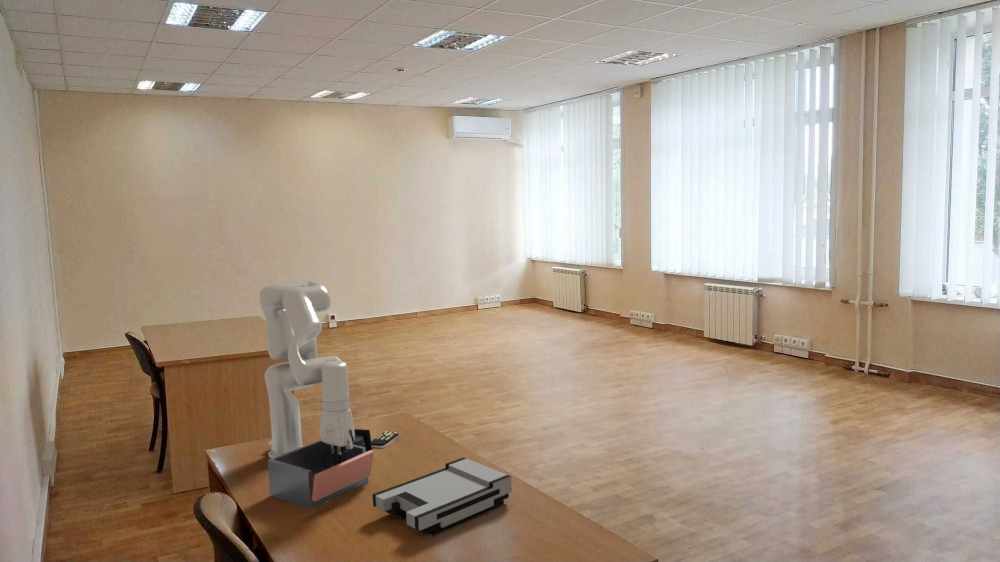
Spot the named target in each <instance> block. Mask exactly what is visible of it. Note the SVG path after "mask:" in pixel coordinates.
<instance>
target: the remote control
mask: <svg viewBox="0 0 1000 562" xmlns="http://www.w3.org/2000/svg"><path fill="white" fill-rule="evenodd" d="M399 437H400V434H399V433H398V432H397V431H396V432H395V431H387V430H386V431H384V432H382V433H381V434H379V435H378V436H376V437H375V438H374V439H371V444H372V448H373V447H375V449H383V448H384V447H385V448H386V447H388V446H387V445H391V444H392V443H393V442H394V441H396V440H397V439H398V438H399ZM385 448H384V449H385Z"/></svg>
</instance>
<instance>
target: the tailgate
mask: <svg viewBox="0 0 1000 562" xmlns="http://www.w3.org/2000/svg"><path fill="white" fill-rule="evenodd" d="M374 454H375V451H374V450H373V449H372V450H370V451H367V452H365V453H363V454H361V455H358V456H356V457H354V458H352V459H349V460H347V461H345V462H342V463H340V464H338V465H336V466H333V467H331V468H329V469H326V470H324V471H322V472H320V473H317V474H315V478H314V487H313V495H312V500H313V501H317V500H319V499H321V498H324V497H326V496H328V495H330V494H332V493H334V492H336V491H338V490H340V489H342V488H344V487H347V486H349V485H351V484H353V483H355V482H357V481H359V480H361V479H363V478H365V477H368V478H369V476H371V475H372V467H373V461H374Z"/></svg>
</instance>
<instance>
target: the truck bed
mask: <svg viewBox="0 0 1000 562" xmlns="http://www.w3.org/2000/svg"><path fill="white" fill-rule="evenodd" d="M365 452H366V447H362V446H358V445H354V444H353V449H350V450H347V452H345V453H346V461H347V460H349V459H352V458H354V457H356V456H358V455H361V454H363V453H365ZM333 466H334V456H333V453H332V451H331V448H330V446H329V445H327V444H326V443H324V442H322V441H321V438H320V439H318V440H316V441H313V442H311V443H308V444H305V445H303V446H302V447H300V448H297V449H295V450H292V451H290V452H287V453H285V454H282V455H279V456H277V457H274V458H272V459H270V458H269V459H268V460H267V468H268V469H267V470H268V481H269V483H268V484H269V496H270V497H271V498H272V497H273V498H276V499H278V500H281V501H284V502H286V503H290V504H293V505H296V506H298V507H301V506H302V507H301V508H304V507H306V508H305V509H307V508H309V509H308V510H310V509H313V508H315V507H317V506H319V507H321V506H323V505H325V504H326V503H325V502H327V501H329V500H331V501H333V500H335V499H337V498H339V497H341V496H344V495H345V493H346V494H347V492H348V491H350V492H351V490H352V491H353V489H354V490H356V489H358V488H360V487H362V486H363V485H366V484H368V483H369V476H368V477H365V478H363V479H361V480H359V481H357V482H355V483H353V484H351V485H349V486H347V487H344V488H342V489H340V490H338V491H336V492H334V493H332V494H330V495H328V496H326V497H324V498H321V499H319V500H317V501H313V500H312V495H313V487H314V478H315V474H317V473H320V472H322V471H324V470H326V469H329V468H331V467H333ZM359 486H360V487H359ZM357 487H358V488H357ZM355 488H356V489H355ZM348 493H349V492H348ZM343 494H344V495H343ZM338 496H339V497H338ZM336 497H337V498H336ZM334 498H335V499H334ZM332 499H333V500H332ZM329 502H330V501H329ZM324 503H325V504H324ZM327 503H328V502H327ZM322 504H323V505H322ZM320 505H321V506H320ZM317 508H318V507H317ZM315 509H316V508H315ZM313 510H314V509H313Z"/></svg>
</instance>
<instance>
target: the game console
mask: <svg viewBox="0 0 1000 562" xmlns="http://www.w3.org/2000/svg"><path fill="white" fill-rule="evenodd" d="M512 485H513V484H512V476H511V475H509V474H507V473H504V472H501V471H499V470H496V469H494V468H491V467H489V466H486V465H483V464H481V463H479V462H477V461H473V460H471V459H468V458H466V457H460V458H457V459H455V460H453V461H450V462H447V463H445V467H444V468H441V469H439V470H435V471H434V472H433V471H432V472H430V473H428V474H425V475H422V476H419V477H416V478H414V479H411V480H407V481H405V482H402V483H400V484H397V485H394V486H391V487H389V488H386V489H383V490H380V491H378V492H374V493H372V506H373V507H374V508H376V509H378V510H380V511H382V512H384V513H387V514H389V515H390V516H391V517H393V518H397V517H398V516H399V517H398V518H400V517H401V518H400V519H402V520H406V525H407V526H409V527H411V528H412V529H414V530H416V531H418V532H422V533H424V534H429V535H431V536H433V537H434V536H435V535H438V534H440V533H443V532H445V531H448V530H450V529H452V528H455V527H457V526H459V525H461V524H463V523H466V522H467V521H468V522H469V521H470V520H473V519H475V518H478V517H480V516H482V515H484V514H486V512H487V513H488V511H489V512H491V511H493V510H496V509H498V508H500V507H502V506H501V505H503V504H504V505H505V500H506V499H509V497H510V496H509V494H510V493H512V492H513V490H512V488H513V487H512ZM504 505H503V506H504ZM499 506H500V507H499ZM497 507H498V508H497ZM495 508H496V509H495ZM490 510H491V511H490ZM405 518H406V519H405Z"/></svg>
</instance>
